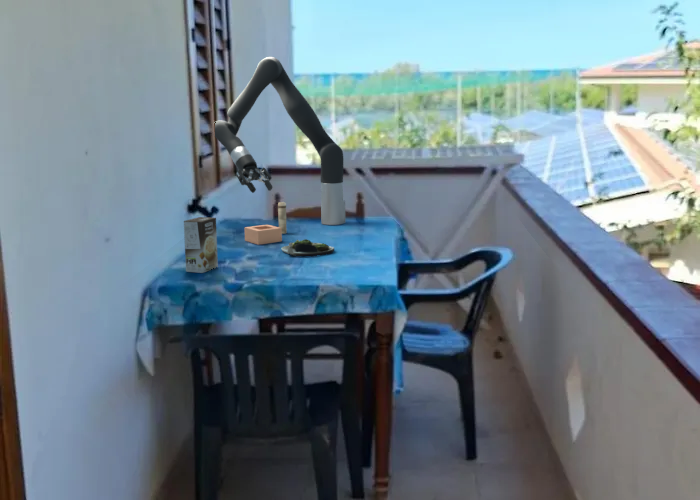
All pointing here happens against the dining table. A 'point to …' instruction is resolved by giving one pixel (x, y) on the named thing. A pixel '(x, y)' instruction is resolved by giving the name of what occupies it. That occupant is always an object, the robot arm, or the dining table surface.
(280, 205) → the birch peg
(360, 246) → the dining table surface
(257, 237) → the orange square ring
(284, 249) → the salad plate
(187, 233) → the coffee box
